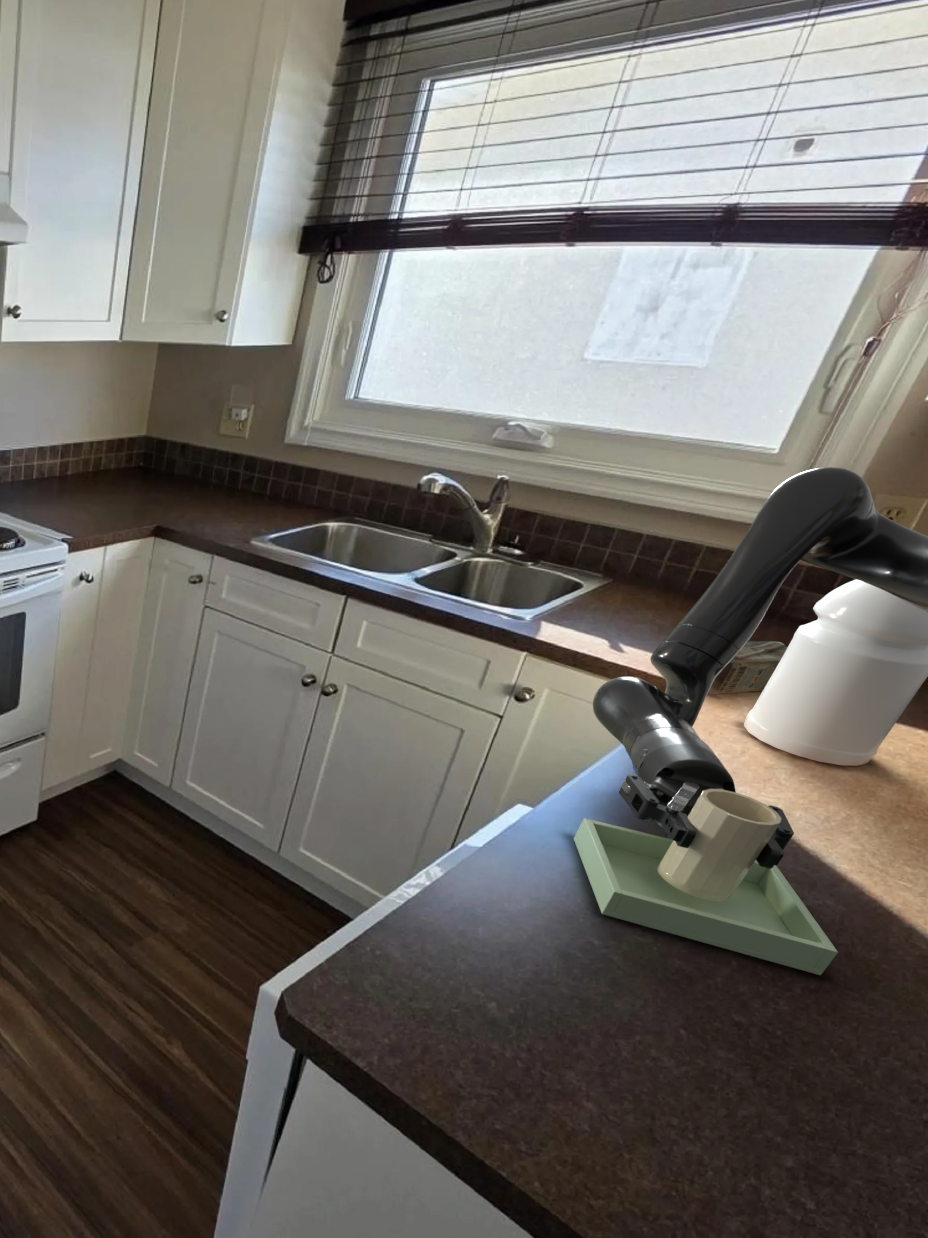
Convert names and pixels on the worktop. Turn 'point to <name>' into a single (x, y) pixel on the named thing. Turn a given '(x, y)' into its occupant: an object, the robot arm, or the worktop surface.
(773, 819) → the cup
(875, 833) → the worktop surface
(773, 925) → the tray
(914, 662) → the bottle
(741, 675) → the beverage carton
